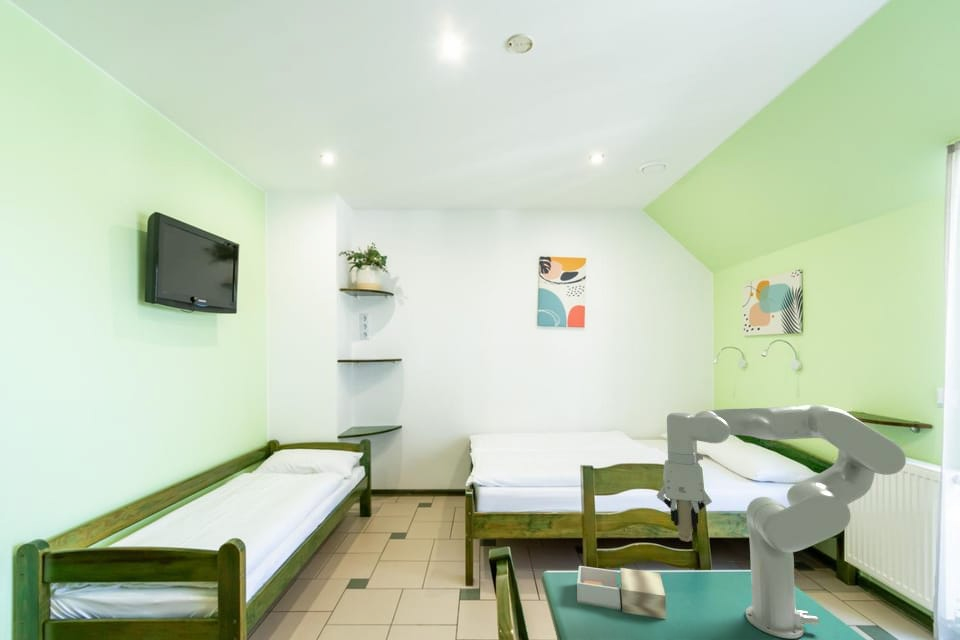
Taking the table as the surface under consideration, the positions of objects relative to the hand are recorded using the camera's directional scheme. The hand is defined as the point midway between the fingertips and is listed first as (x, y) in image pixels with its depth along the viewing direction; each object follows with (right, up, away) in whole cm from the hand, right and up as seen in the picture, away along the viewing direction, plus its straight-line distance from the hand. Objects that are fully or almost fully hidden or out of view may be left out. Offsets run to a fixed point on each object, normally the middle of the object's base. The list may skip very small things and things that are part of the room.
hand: (684, 524), depth 120 cm
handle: (0, -4, 0) cm, 4 cm away
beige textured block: (-11, -23, +2) cm, 26 cm away
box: (-23, -23, +5) cm, 33 cm away
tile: (-24, -20, +5) cm, 32 cm away
